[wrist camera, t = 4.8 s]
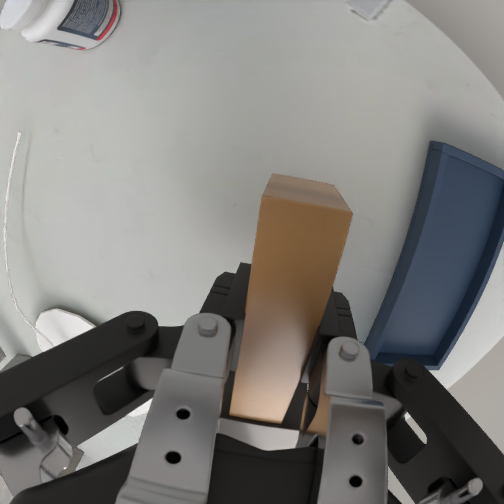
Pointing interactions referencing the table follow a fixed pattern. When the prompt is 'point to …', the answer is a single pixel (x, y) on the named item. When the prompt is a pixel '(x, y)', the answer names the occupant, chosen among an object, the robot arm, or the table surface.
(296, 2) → the table surface
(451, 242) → the tray
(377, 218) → the table surface
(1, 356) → the power adapter
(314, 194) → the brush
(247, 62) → the table surface
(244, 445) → the robot arm
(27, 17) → the pill bottle
